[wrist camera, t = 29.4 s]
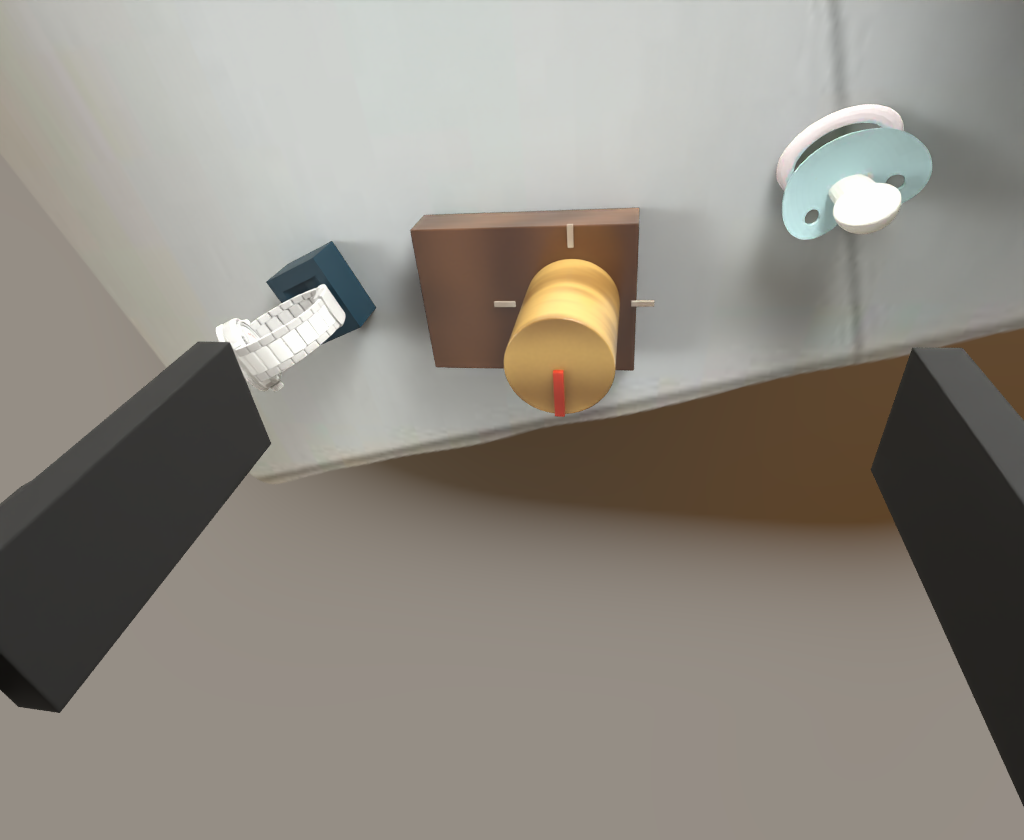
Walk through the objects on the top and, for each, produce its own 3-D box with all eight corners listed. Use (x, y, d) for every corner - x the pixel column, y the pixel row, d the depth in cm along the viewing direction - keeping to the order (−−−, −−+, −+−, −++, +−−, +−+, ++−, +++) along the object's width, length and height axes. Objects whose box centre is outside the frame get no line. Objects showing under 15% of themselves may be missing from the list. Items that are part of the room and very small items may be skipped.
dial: (522, 259, 38) (497, 320, 31) (621, 257, 36) (616, 321, 30) (529, 344, 41) (507, 415, 34) (619, 345, 40) (614, 419, 33)
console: (657, 205, 37) (658, 222, 35) (650, 350, 43) (650, 373, 41) (423, 213, 40) (408, 229, 38) (446, 348, 46) (435, 370, 43)
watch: (268, 274, 45) (177, 347, 36) (351, 230, 42) (274, 299, 33) (314, 337, 47) (240, 419, 39) (395, 300, 44) (334, 380, 36)
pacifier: (756, 145, 34) (786, 240, 37) (774, 171, 29) (807, 278, 32) (901, 76, 31) (922, 184, 34) (948, 92, 26) (969, 217, 29)
